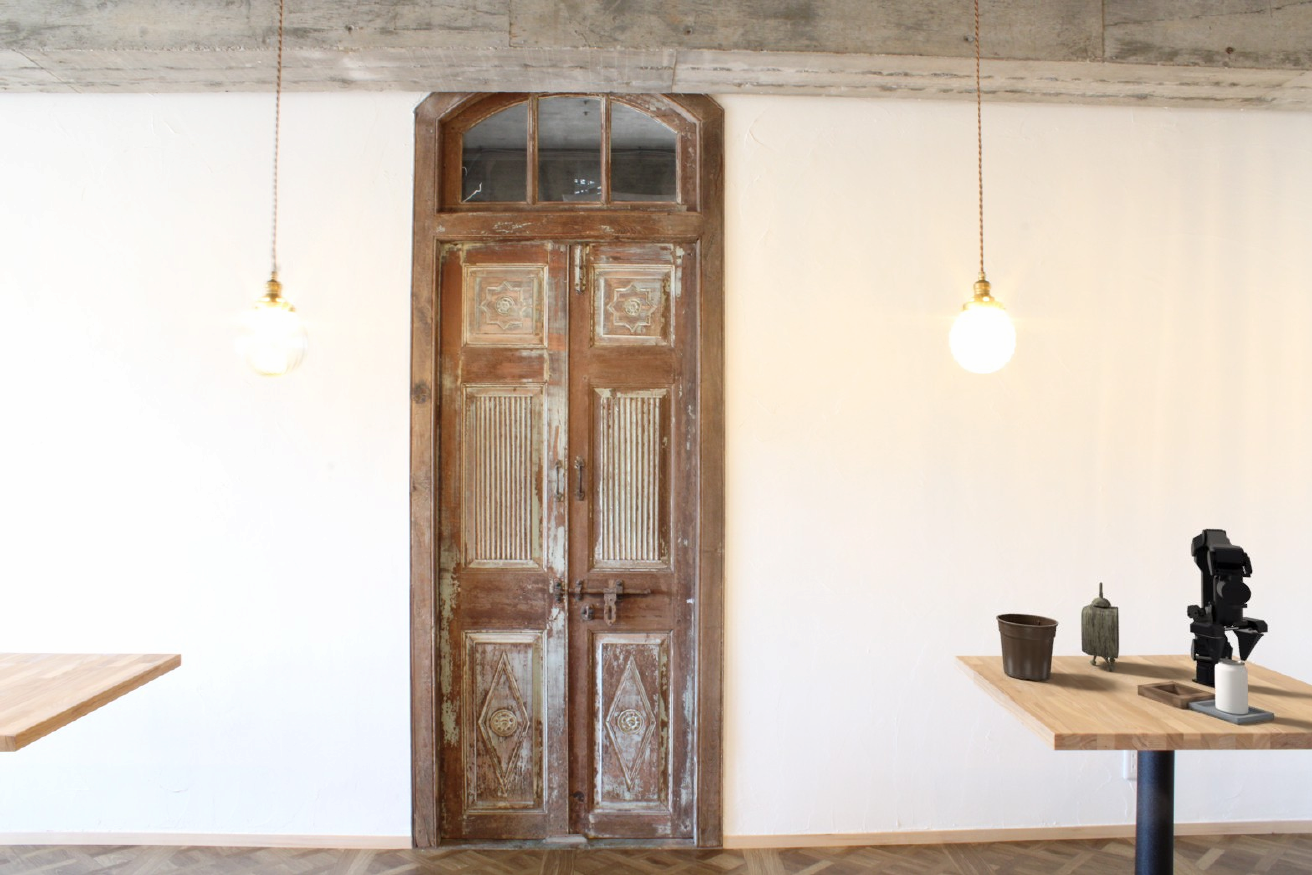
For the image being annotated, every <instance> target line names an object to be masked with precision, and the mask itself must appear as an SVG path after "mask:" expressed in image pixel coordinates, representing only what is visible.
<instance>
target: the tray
mask: <svg viewBox="0 0 1312 875" xmlns="http://www.w3.org/2000/svg"><path fill="white" fill-rule="evenodd" d="M1188 710H1191V711H1193V712H1197V713H1201V714H1203V715H1206V716H1209V717H1213V718H1215V719H1219V720H1222V721H1224V722H1228V723H1231V724H1233V723H1234V724H1233V725H1236V726H1237V725H1245V723H1246V724H1252V723H1259V722H1265V721H1266V722H1267V721H1272V719H1274V720H1275V713H1274V712H1271V711H1269V710H1265V709H1261V708H1258V707H1255V706H1251V705H1249V704H1248V713H1247V714H1246V715H1233V714H1228V713H1224V712H1221V711H1219V710H1217V708H1216V704H1215V699H1213V700H1206V701H1198V702H1190V703H1189V708H1188Z"/></svg>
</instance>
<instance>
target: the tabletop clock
mask: <svg viewBox="0 0 1312 875" xmlns="http://www.w3.org/2000/svg"><path fill="white" fill-rule="evenodd" d="M1098 587H1099V588H1098V589H1099V590H1098V591H1099V592H1098V597H1096V598H1094V599H1093V600H1092V601H1091V604H1088V605H1085V606H1083V607H1082V609H1081V613H1080V614H1081V615H1080V616H1081V617H1080V618H1081V619H1080V624H1081V626H1080V627H1081V628H1080V629H1081V630H1080V632H1081V633H1080V634H1081V652H1083V653H1085V654H1087V655H1088V656H1091V657H1092V659H1091V660H1090V662H1089V663H1090V664H1091V666H1096V665H1097V661H1096V659H1097V657H1098V658H1099V657H1100V658H1102V659H1103V660H1104V661H1105V662H1106V665H1107V667H1106V668H1107V670H1108V672H1113V671H1114V670H1115V668H1114V667H1113V666H1112V665H1111V664H1115V663H1116V659H1118V658H1119V652H1120V622H1119V619H1120V618H1119V617H1120V616H1119V615H1120V613H1119V607H1118V606H1113V605H1112V604H1111V601H1110V600H1109V599H1108V598H1105V597H1104V593H1103V582H1099V584H1098ZM1110 663H1111V664H1110Z"/></svg>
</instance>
